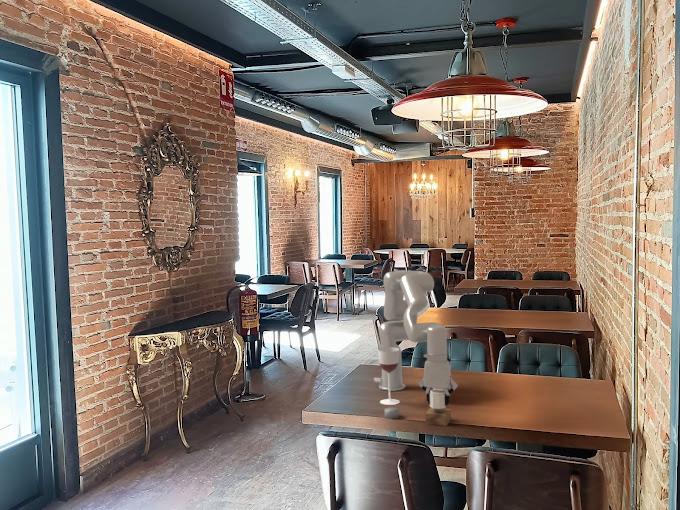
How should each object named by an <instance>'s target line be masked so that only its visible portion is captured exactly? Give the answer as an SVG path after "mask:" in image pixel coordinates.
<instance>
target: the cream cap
mask: <svg viewBox="0 0 680 510" xmlns="http://www.w3.org/2000/svg"><path fill="white" fill-rule="evenodd" d="M445 395H446V393H445V391H444V390H443V389H433V388H431V390H430V404H429V407H430V408H431V407H432V408H435V409H442V408H443V409H447V406H445Z"/></svg>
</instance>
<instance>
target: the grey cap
mask: <svg viewBox="0 0 680 510" xmlns="http://www.w3.org/2000/svg"><path fill="white" fill-rule="evenodd" d="M383 412H384V418H385V419H388V420H393V419H398V418H399V417H400V415H399V408H398V407H393V406H391V407H386V408H384V410H383Z"/></svg>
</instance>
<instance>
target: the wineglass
mask: <svg viewBox="0 0 680 510" xmlns="http://www.w3.org/2000/svg"><path fill="white" fill-rule="evenodd" d="M377 355H378V356H377V358H378V363H379V365H380V368H381V370H382V369H383V370H385V371H386V372H388V390H389V391H388V398H386V399H382V400H380V401H379V403H380V404H381V405H387V406H392V405H397V404H399V403H401V402H400V400H398V399H395V398H391V397H392V396H391V394H392V393H391V392H392V391H391V390H390V372H391V371H393V370H394V369H396V367H397V366H398V362H399V349H398V348H395V347H384V348H381V347H379V348H378V349H377Z"/></svg>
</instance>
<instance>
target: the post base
mask: <svg viewBox="0 0 680 510" xmlns="http://www.w3.org/2000/svg"><path fill="white" fill-rule="evenodd" d="M450 421H452V410H451V408H442V409H435V408H432V407H430V408H428V410H427V411H426V412H425V424H426V425H433V426H434V425H436V426H448V425H449V423H450Z"/></svg>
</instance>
